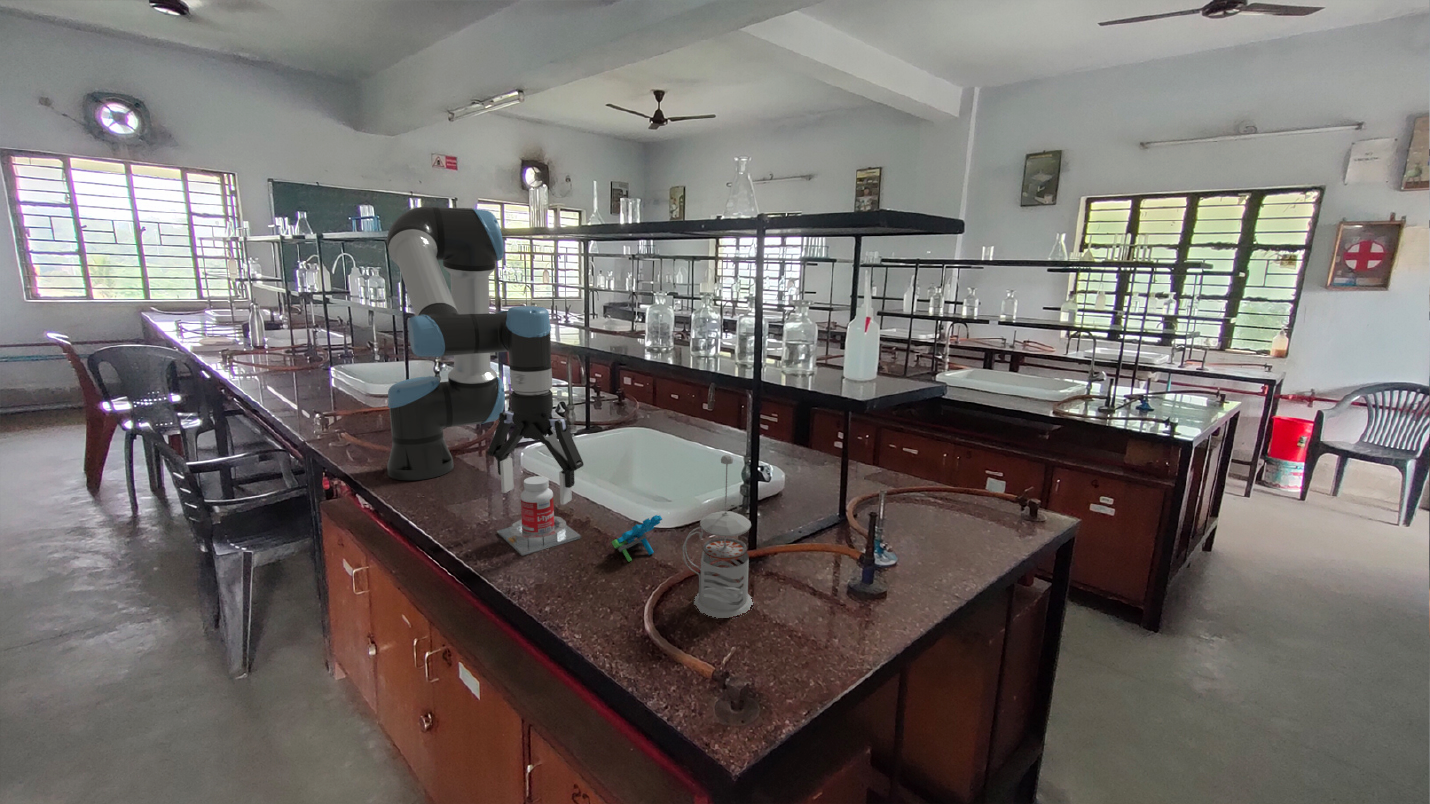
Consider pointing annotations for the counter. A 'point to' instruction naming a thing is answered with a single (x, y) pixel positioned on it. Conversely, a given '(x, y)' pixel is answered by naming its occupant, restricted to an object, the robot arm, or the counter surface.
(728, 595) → the french press
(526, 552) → the duct flange
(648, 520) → the blue knobbed piece
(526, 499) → the pill bottle
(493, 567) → the counter surface
